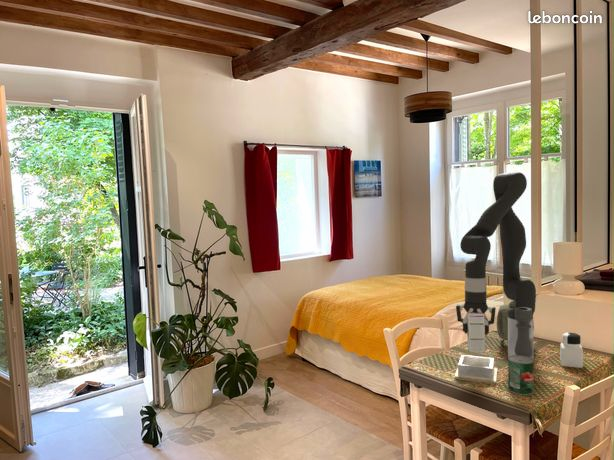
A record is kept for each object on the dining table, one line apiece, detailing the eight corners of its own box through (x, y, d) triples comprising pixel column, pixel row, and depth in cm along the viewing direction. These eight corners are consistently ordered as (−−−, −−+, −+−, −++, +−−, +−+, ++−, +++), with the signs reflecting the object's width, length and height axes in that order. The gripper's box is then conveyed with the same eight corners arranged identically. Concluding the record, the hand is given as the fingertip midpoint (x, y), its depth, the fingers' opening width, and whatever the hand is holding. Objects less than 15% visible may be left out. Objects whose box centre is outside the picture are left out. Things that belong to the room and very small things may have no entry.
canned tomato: (509, 384, 162) (509, 353, 161) (534, 388, 158) (534, 356, 157) (506, 392, 155) (506, 360, 155) (532, 397, 151) (532, 364, 151)
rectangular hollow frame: (497, 370, 175) (497, 357, 175) (495, 384, 163) (495, 370, 162) (459, 365, 181) (458, 353, 181) (454, 378, 169) (454, 365, 168)
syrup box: (485, 353, 168) (485, 313, 167) (468, 352, 169) (468, 313, 168) (483, 348, 174) (482, 310, 173) (466, 347, 175) (466, 309, 174)
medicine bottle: (581, 362, 181) (581, 332, 180) (583, 368, 174) (583, 337, 174) (560, 360, 184) (560, 330, 183) (561, 366, 177) (561, 335, 177)
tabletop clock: (533, 346, 202) (533, 289, 201) (533, 352, 194) (533, 293, 192) (497, 342, 208) (497, 288, 207) (496, 348, 200) (496, 291, 199)
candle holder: (532, 380, 165) (531, 311, 163) (513, 377, 168) (512, 309, 166) (534, 374, 170) (533, 307, 168) (515, 371, 173) (515, 306, 172)
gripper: (497, 288, 171) (497, 333, 172) (456, 286, 177) (456, 329, 178) (496, 292, 164) (496, 338, 165) (453, 290, 170) (454, 334, 171)
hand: (475, 333), depth 171 cm, fingers closed on syrup box, 6 cm apart
